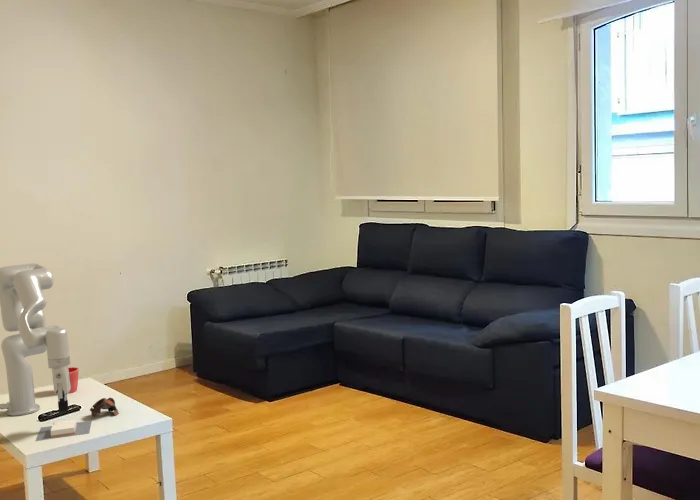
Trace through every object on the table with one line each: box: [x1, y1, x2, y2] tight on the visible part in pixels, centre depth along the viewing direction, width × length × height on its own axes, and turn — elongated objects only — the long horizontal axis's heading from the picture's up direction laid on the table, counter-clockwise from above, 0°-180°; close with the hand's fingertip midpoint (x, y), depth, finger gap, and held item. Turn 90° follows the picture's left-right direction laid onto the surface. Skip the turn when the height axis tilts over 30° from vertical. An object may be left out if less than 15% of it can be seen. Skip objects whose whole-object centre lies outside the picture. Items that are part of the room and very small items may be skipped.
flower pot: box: [68, 366, 79, 394], centre depth 329 cm, size 11×11×10 cm
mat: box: [35, 420, 92, 442], centre depth 272 cm, size 18×16×1 cm
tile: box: [51, 419, 78, 437], centre depth 270 cm, size 8×2×10 cm
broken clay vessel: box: [89, 397, 120, 417], centre depth 289 cm, size 12×10×8 cm
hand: (63, 410), depth 274 cm, fingers closed
